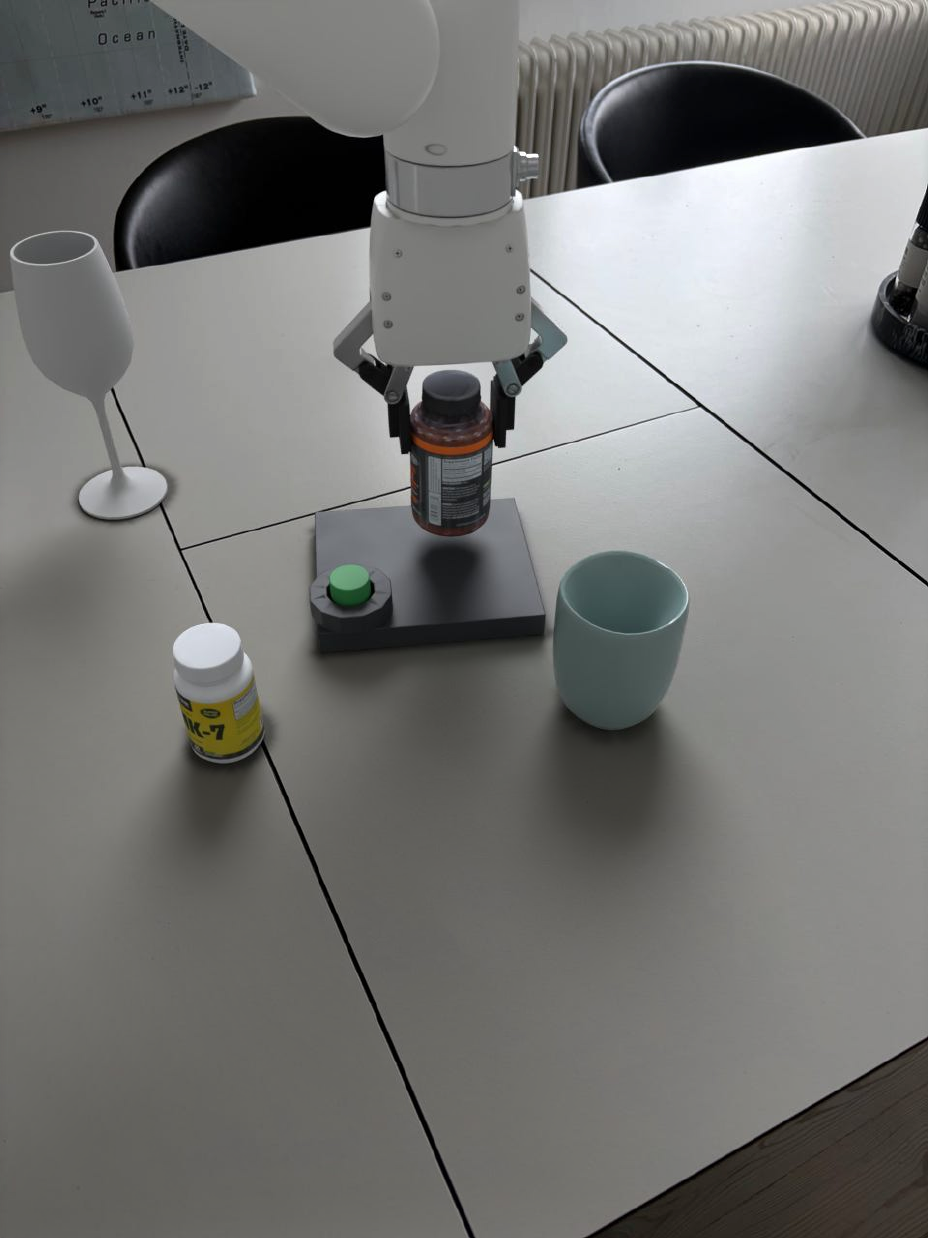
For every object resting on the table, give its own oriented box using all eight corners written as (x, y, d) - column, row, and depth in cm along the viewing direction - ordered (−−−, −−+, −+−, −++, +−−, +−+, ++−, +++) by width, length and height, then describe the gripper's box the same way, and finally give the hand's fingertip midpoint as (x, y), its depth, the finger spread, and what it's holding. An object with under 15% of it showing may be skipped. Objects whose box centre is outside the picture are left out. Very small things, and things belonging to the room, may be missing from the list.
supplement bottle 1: (175, 748, 64) (147, 655, 58) (221, 700, 67) (199, 607, 61) (235, 777, 63) (212, 684, 57) (280, 726, 66) (263, 633, 60)
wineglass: (61, 491, 84) (-22, 245, 70) (143, 457, 88) (80, 217, 74) (103, 533, 80) (24, 281, 66) (187, 495, 84) (130, 249, 70)
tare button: (331, 608, 69) (329, 591, 68) (330, 582, 71) (328, 565, 70) (372, 605, 70) (370, 588, 68) (369, 579, 72) (368, 562, 70)
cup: (525, 697, 67) (532, 585, 61) (606, 645, 71) (621, 533, 64) (609, 767, 63) (627, 655, 56) (690, 708, 67) (716, 596, 60)
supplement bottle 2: (409, 494, 78) (406, 361, 70) (486, 492, 78) (491, 359, 70) (412, 542, 73) (409, 405, 66) (493, 539, 74) (499, 403, 66)
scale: (315, 657, 70) (309, 620, 68) (312, 531, 81) (308, 495, 78) (545, 637, 72) (548, 601, 69) (513, 516, 82) (515, 480, 80)
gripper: (581, 150, 62) (561, 405, 75) (300, 161, 61) (327, 419, 73) (608, 195, 57) (581, 462, 69) (301, 208, 55) (330, 479, 68)
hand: (451, 438), depth 71 cm, fingers closed on supplement bottle 2, 6 cm apart
